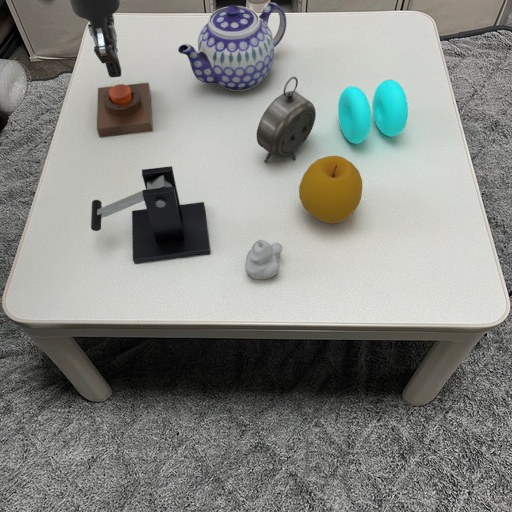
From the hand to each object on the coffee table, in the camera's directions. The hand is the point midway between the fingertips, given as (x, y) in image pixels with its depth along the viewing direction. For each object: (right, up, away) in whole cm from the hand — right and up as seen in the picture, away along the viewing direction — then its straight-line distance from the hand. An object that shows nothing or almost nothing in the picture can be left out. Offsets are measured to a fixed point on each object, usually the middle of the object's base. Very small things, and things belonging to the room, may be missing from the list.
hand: (115, 74), depth 94 cm
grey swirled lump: (+27, -35, -13) cm, 46 cm away
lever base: (+12, -29, -10) cm, 33 cm away
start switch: (0, -5, +7) cm, 9 cm away
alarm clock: (+31, -14, +1) cm, 34 cm away
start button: (0, -3, +4) cm, 5 cm away
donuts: (+46, -10, +4) cm, 48 cm away
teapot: (+22, +4, +14) cm, 26 cm away
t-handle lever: (+7, -25, -17) cm, 31 cm away
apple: (+37, -26, -7) cm, 46 cm away
